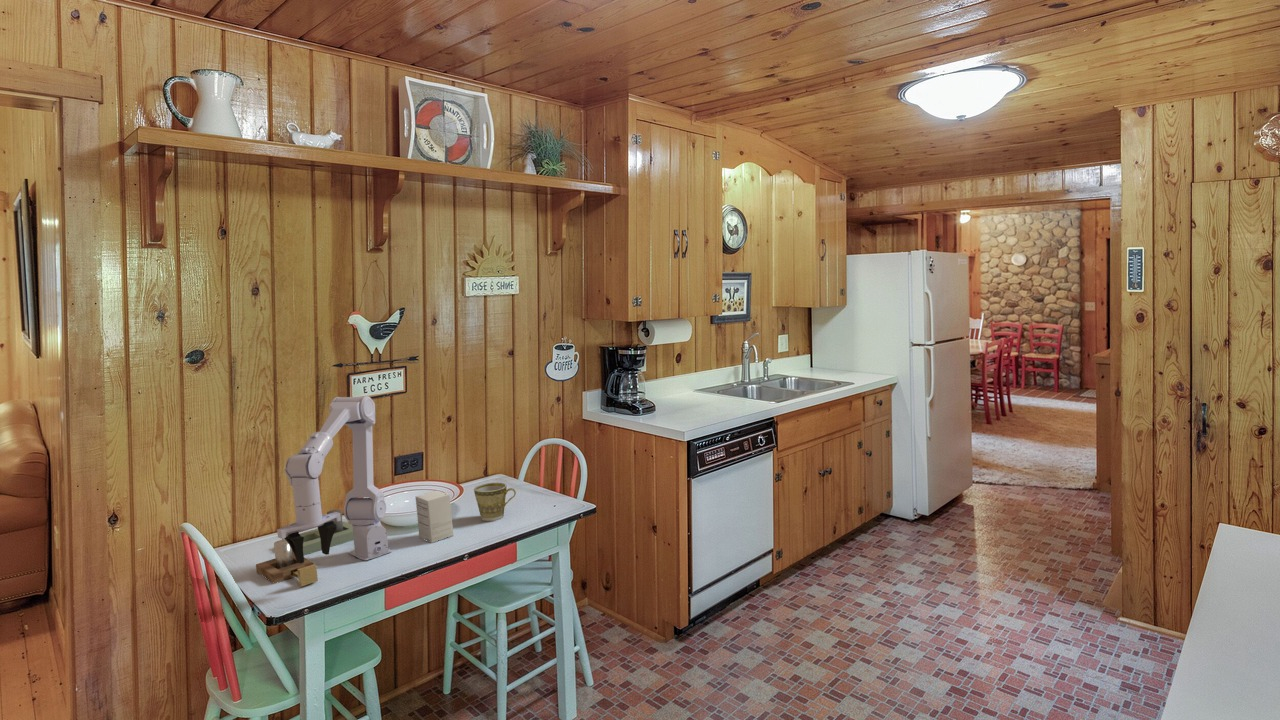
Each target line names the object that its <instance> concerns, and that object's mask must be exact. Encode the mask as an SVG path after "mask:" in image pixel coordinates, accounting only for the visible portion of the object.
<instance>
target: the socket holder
mask: <svg viewBox="0 0 1280 720" xmlns="http://www.w3.org/2000/svg"><path fill="white" fill-rule="evenodd" d="M292 555H293V565H290V566H287V567H284V568H281V569H277V568H276V559H275V558H272V559H268V560H266V561H263V562H259V563H256V564H255V568H256V569H255V570H256V573H257V572H258V573H259V574H258V573H257V574H258V575H260V574H261V575H260V576H262V575H263V576H264V577H263V576H262V577H263V578H265V577H266V578H267V580H268V579H269V582H271V581H272V582H271V583H273V582H274V583H275V584H277V582H278V583H281V582H284V581H287V580H290V579H293V578H296V577H295V576H293V572H295V571H297V569H300V568H303V567H307V566H310V565H313V564H314V565H315V563H314V561H312V560H310V559H308V558H307V557H305V556H304V563H298V562H297V560H296V557H295V554H294V553H293V552H292ZM292 570H293V572H291V571H292ZM266 578H265V579H266ZM283 580H284V581H283ZM280 581H281V582H280ZM274 583H273V584H274Z"/></svg>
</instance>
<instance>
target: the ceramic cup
mask: <svg viewBox="0 0 1280 720" xmlns="http://www.w3.org/2000/svg"><path fill="white" fill-rule="evenodd" d="M509 491H512V492H513V493H514V495H513V496H511V497H510V498H509V499H508V500H507V501H506V495H507V494H508V493H509ZM473 493H474V496H475V500H476V503H477V507H478V511H479V515H480V516H479V517H480V519H481V520H483V521H484V522H496V521H499V520H501V519H503V517H504V516H505V515H504V514H505V507H506V506H507V504H508V503H509V502H510V501H511V500H513V498H515V496H516V493H517V491H516V489H515V488H512V487H509V488H507V484H506V483H504V482H496V481H495V482H485V483H481V484H477V485H476V486H474V488H473Z"/></svg>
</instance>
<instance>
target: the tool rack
mask: <svg viewBox="0 0 1280 720" xmlns="http://www.w3.org/2000/svg"><path fill="white" fill-rule="evenodd" d="M334 512H338V513H340V518H341V521H338V522H336V521H335V522H334V524H336V526H337V528H336V530H335V532H334V535H333V537H332V540H331V545H330V548H331V547H335V546H338V545H341V544H345V543H347V542H351V541H354V537H353V527H352V524H350V523H348V522H346V521H343V514H342V510H341V509H332V510H329V511H327V512H326V514H330V513H334ZM299 534H300V536H302V537H304V540H303V554H304V556H305V555H309V554H312V553H316V552H319V551H322V549H321V539H320V535H319V531H318V528H314V529H312V530H311V529H310V530H309V531H308V530H307V531H303V532H300V533H299ZM281 540H285V538H283V539H281ZM292 553H294V552H293V550H292Z"/></svg>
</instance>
